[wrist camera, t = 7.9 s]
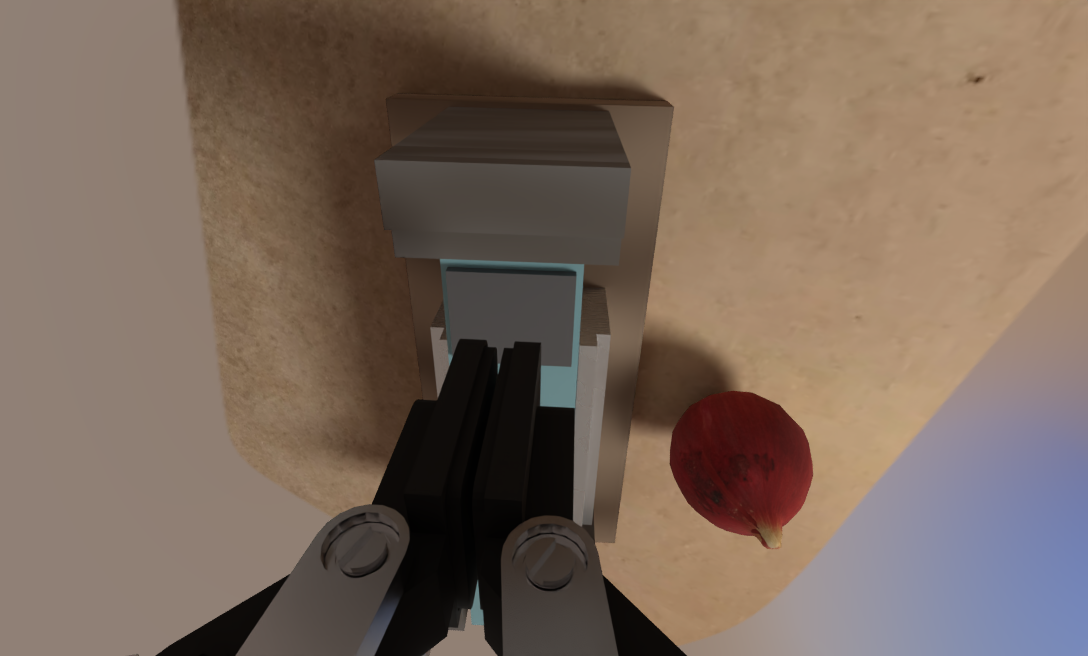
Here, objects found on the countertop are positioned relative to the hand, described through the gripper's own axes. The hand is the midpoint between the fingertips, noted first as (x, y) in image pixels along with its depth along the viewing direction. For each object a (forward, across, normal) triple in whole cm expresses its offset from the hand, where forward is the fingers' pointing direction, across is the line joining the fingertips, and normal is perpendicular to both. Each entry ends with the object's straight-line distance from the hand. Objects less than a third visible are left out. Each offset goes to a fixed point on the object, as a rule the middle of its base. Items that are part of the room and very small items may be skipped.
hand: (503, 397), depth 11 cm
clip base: (+12, 0, +8) cm, 14 cm away
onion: (+12, -9, +10) cm, 18 cm away
